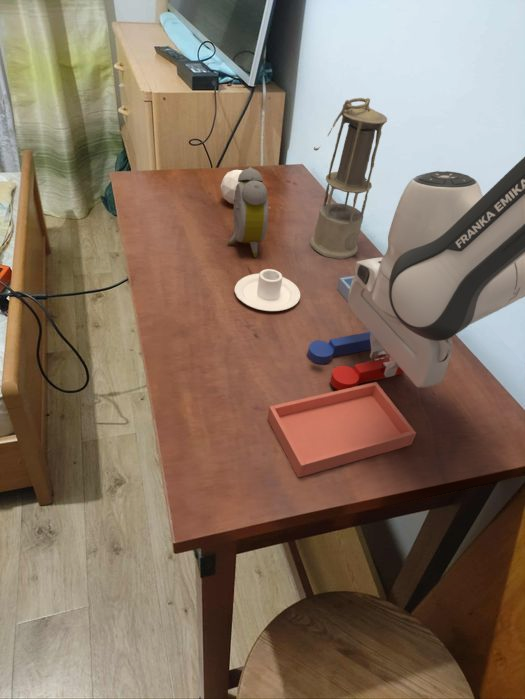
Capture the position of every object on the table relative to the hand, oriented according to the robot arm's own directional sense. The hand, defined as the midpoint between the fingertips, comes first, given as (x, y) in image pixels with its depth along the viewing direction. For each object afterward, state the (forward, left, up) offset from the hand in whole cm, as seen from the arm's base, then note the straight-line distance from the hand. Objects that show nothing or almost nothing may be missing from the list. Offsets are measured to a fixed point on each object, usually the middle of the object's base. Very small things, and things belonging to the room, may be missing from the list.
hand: (381, 366), depth 78 cm
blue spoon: (+7, +2, -3) cm, 8 cm away
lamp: (+39, -12, -3) cm, 41 cm away
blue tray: (+15, -11, -2) cm, 19 cm away
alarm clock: (+43, +6, -3) cm, 44 cm away
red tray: (-8, +11, -3) cm, 14 cm away
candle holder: (+25, +8, -3) cm, 27 cm away
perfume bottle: (+64, 0, -3) cm, 64 cm away
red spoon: (0, +2, -2) cm, 2 cm away
